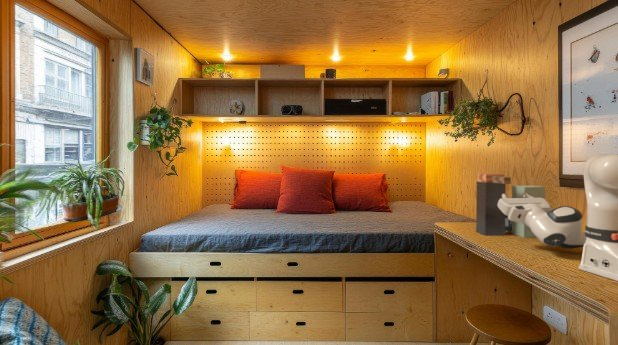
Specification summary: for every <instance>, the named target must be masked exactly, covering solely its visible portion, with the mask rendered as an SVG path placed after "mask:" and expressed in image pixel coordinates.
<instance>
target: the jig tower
mask: <svg viewBox="0 0 618 345" xmlns="http://www.w3.org/2000/svg"><path fill="white" fill-rule="evenodd" d="M506 185H507V184H501V183H492V182H491V183H486V182H478V181H476V205H475V206H476V208H475V209H476V211H475V212H476V214H475V215H476V217H475V218H476V220H475V221H476V222H475V223H476V224H475V225H476V226H475V228H476V229H475V232H476V233H477V234H481V235H483V236H485V237H486V236H506V231H505V214H504V213H503V212H502V211H501V210H500V209H499V208H498V206H497V204H498V201H499V199H501V198H502V194H507V193H506V192H507V190H506V187H507V186H506Z"/></svg>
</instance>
